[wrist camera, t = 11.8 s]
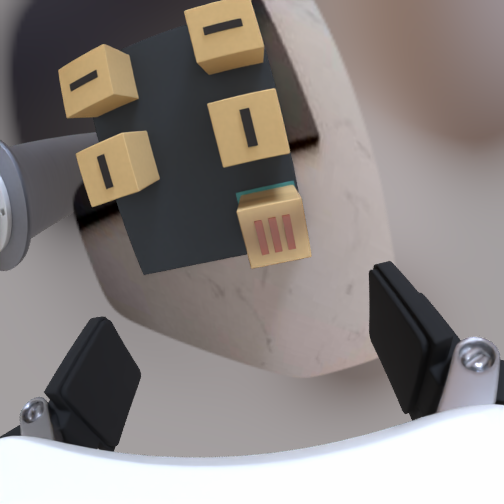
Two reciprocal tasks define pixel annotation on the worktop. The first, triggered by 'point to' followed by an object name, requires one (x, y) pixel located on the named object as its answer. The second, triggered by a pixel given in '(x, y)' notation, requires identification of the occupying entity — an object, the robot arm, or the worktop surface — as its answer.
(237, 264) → the worktop surface
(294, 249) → the striped wooden cube
